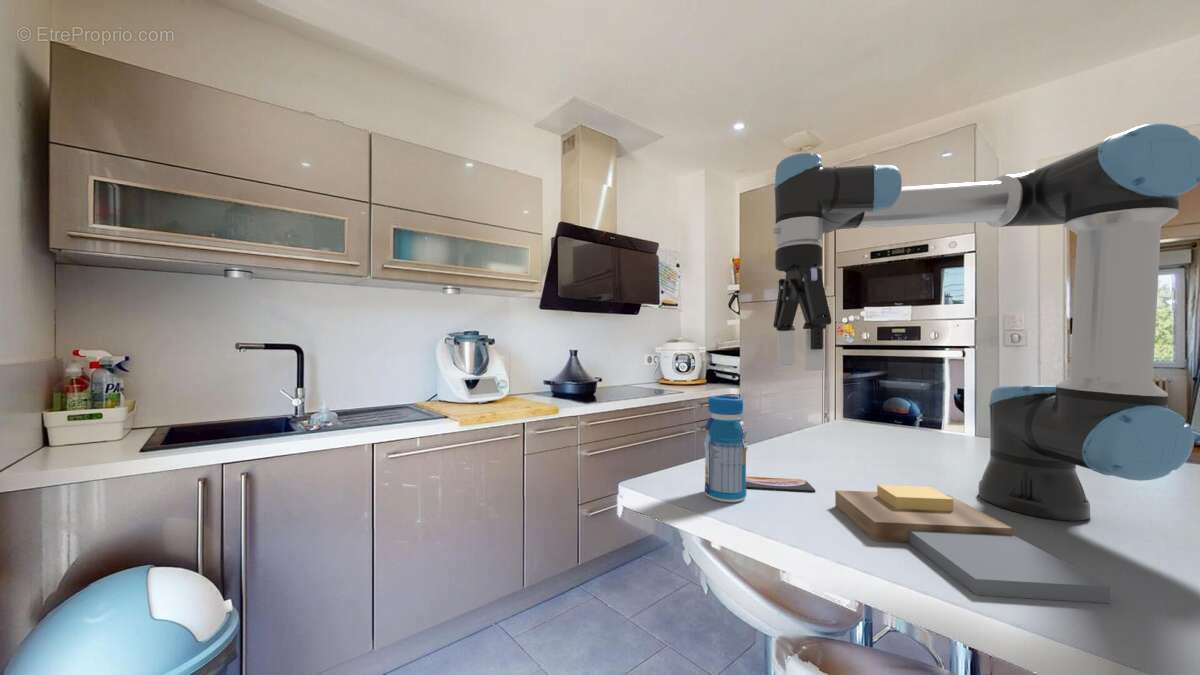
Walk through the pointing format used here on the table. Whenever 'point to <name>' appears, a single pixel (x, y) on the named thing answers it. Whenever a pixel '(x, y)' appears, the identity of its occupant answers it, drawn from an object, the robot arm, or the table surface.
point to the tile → (914, 497)
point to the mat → (1007, 567)
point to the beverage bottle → (725, 450)
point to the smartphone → (778, 484)
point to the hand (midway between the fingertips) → (798, 367)
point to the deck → (913, 518)
